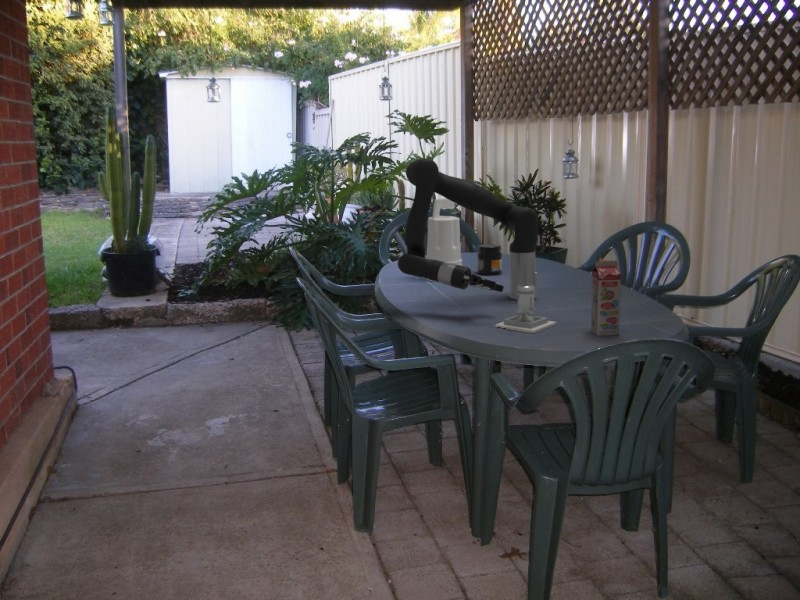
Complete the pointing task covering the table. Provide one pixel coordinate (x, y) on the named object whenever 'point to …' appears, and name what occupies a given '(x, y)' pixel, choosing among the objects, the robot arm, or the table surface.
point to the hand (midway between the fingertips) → (499, 287)
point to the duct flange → (526, 324)
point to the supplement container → (489, 259)
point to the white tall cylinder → (444, 235)
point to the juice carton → (605, 298)
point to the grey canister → (525, 303)
